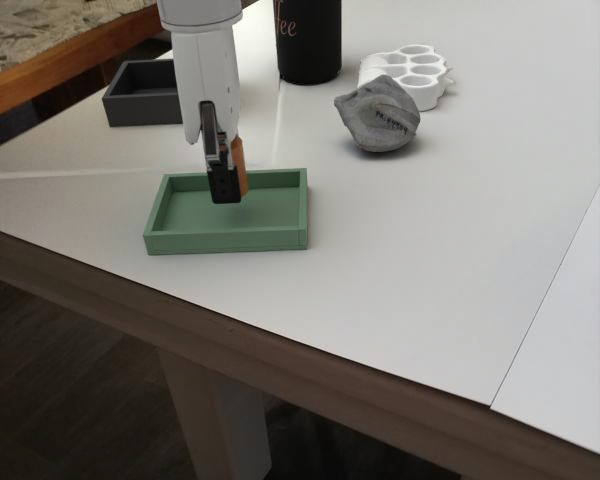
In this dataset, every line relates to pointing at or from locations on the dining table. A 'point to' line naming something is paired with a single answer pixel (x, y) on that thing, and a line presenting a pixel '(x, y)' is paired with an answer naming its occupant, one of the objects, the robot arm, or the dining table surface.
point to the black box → (143, 94)
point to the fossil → (379, 115)
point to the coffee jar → (308, 39)
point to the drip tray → (229, 215)
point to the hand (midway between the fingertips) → (229, 189)
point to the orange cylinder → (238, 162)
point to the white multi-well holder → (410, 72)
